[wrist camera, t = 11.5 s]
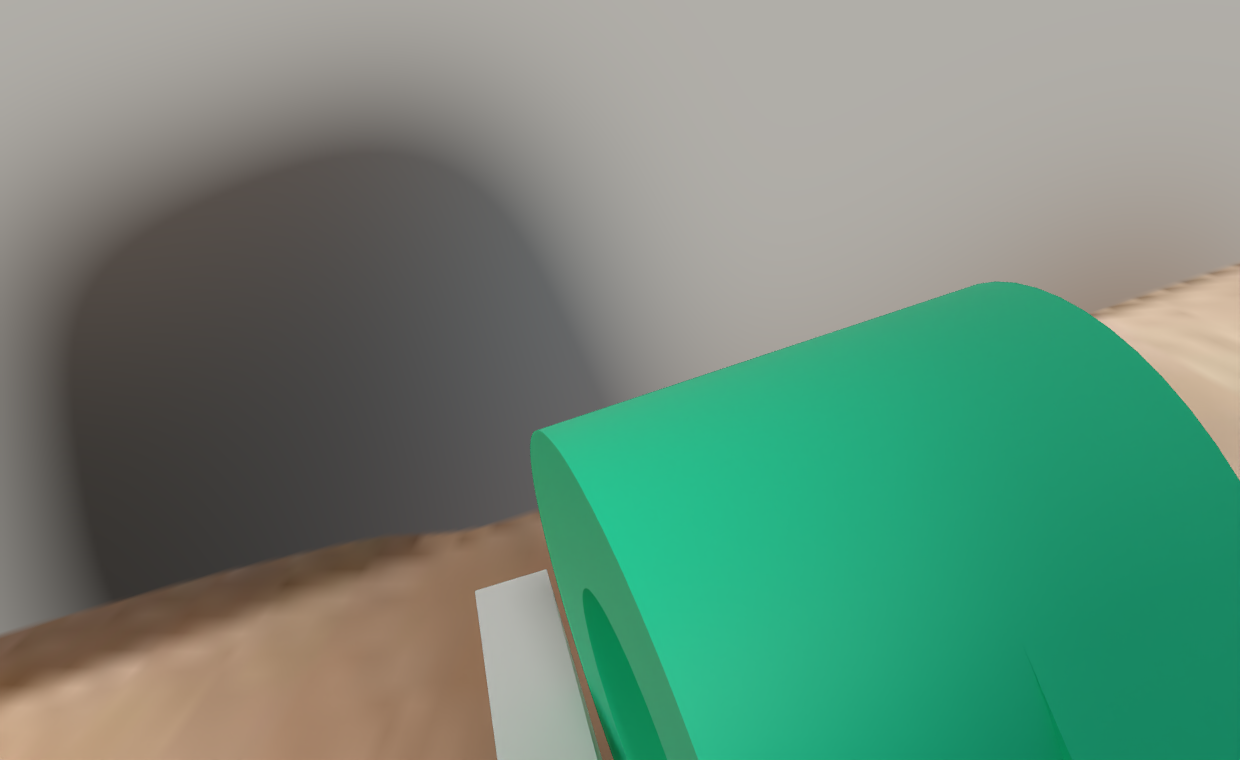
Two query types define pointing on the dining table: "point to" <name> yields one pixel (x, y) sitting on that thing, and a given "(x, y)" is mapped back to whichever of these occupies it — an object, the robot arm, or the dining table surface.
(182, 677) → the dining table surface
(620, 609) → the camera mount
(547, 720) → the robot arm
